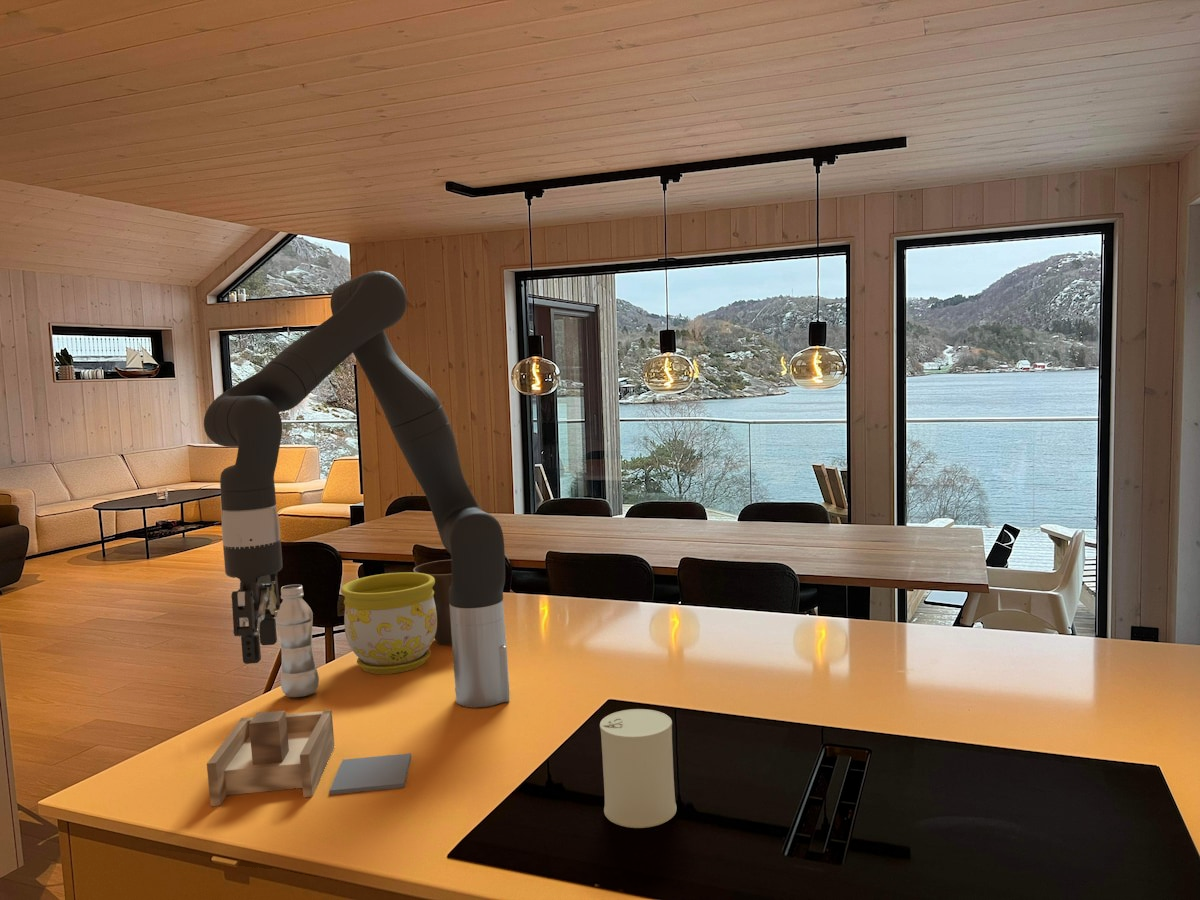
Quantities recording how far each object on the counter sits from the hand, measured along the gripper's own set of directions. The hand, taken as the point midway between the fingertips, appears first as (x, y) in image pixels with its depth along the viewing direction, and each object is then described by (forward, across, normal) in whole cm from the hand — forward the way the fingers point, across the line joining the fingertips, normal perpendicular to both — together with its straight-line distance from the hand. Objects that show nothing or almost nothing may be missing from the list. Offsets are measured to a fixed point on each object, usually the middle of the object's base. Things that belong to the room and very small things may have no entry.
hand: (260, 653), depth 128 cm
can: (+18, -19, -50) cm, 57 cm away
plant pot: (+19, +63, -22) cm, 69 cm away
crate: (+19, +2, 0) cm, 19 cm away
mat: (+19, -1, -14) cm, 24 cm away
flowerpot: (+19, +50, -11) cm, 54 cm away
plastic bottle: (+19, +36, +4) cm, 41 cm away
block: (+15, 0, 0) cm, 15 cm away
